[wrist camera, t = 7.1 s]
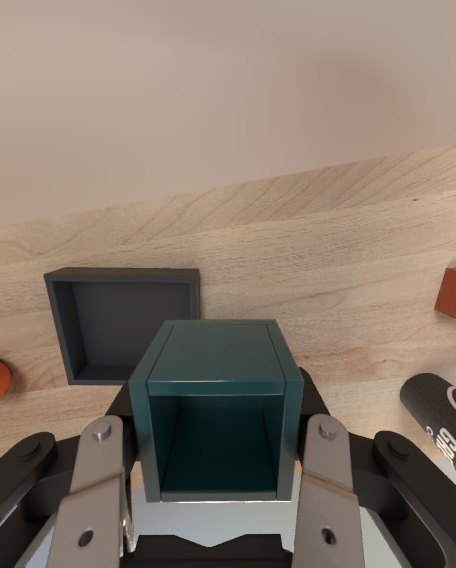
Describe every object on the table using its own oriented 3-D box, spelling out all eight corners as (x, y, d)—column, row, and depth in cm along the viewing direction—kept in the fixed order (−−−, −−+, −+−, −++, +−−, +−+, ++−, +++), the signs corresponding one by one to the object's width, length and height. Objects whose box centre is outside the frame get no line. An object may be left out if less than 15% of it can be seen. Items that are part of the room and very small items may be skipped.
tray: (65, 267, 28) (43, 274, 25) (199, 268, 28) (195, 275, 25) (85, 367, 32) (68, 385, 29) (201, 368, 33) (198, 386, 29)
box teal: (164, 319, 11) (127, 381, 7) (275, 318, 11) (305, 380, 7) (172, 408, 13) (145, 503, 9) (270, 408, 13) (291, 503, 9)
